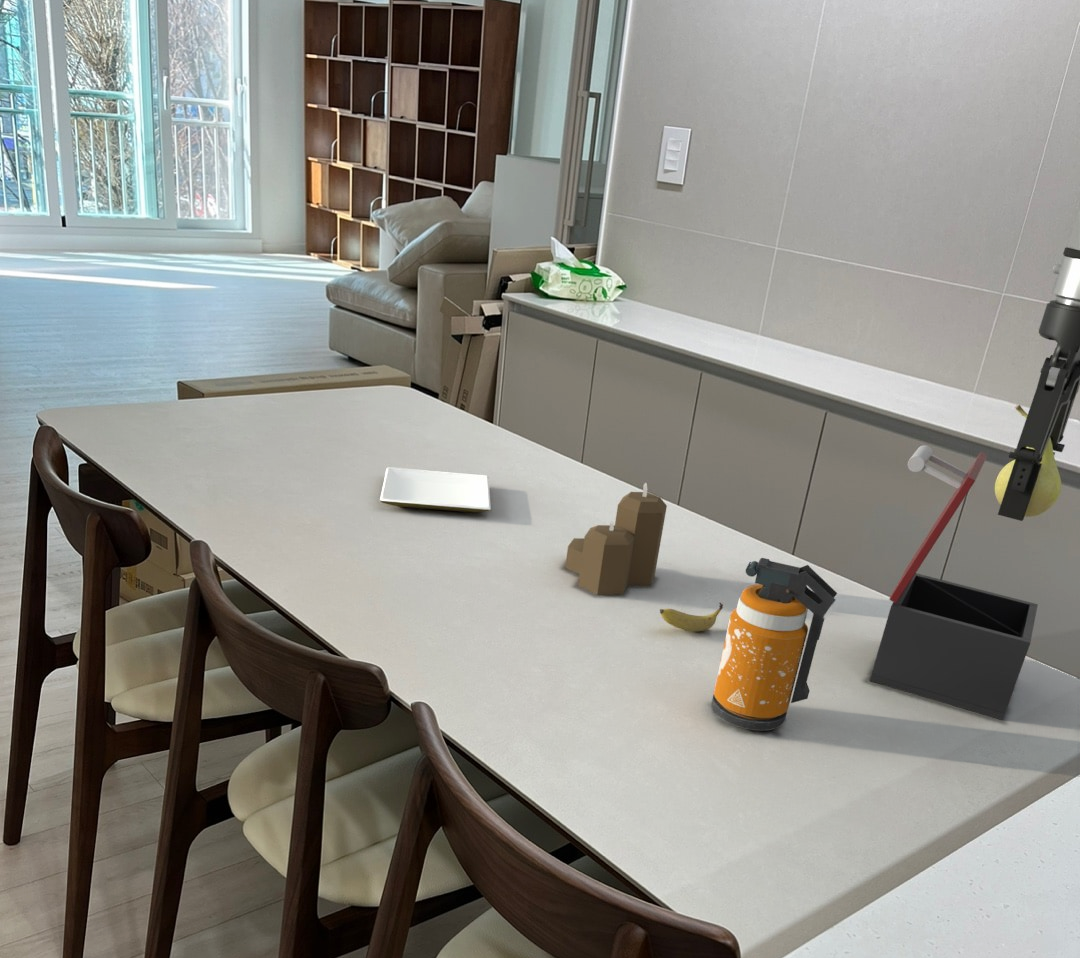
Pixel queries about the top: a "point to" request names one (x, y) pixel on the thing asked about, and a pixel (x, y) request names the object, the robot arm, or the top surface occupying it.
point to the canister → (770, 645)
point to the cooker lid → (918, 464)
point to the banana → (689, 620)
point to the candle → (620, 547)
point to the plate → (436, 490)
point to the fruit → (1045, 484)
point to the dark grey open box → (955, 645)
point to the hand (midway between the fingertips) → (1017, 510)
